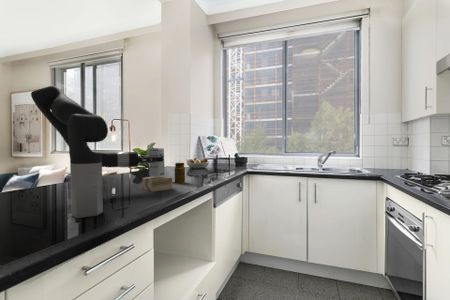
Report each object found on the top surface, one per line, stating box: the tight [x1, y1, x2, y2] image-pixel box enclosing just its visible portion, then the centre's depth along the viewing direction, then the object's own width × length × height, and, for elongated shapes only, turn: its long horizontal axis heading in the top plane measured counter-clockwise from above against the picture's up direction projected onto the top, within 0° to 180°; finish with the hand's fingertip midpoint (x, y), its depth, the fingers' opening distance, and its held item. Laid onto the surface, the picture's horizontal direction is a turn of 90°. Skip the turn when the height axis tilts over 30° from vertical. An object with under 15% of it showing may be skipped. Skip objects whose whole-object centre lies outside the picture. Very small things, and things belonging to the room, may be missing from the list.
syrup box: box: [148, 147, 165, 177], centre depth 124 cm, size 6×6×14 cm
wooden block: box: [141, 175, 173, 193], centre depth 124 cm, size 11×11×6 cm
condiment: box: [172, 162, 187, 185], centre depth 141 cm, size 7×8×12 cm
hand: (160, 158), depth 125 cm, fingers open, 8 cm apart
